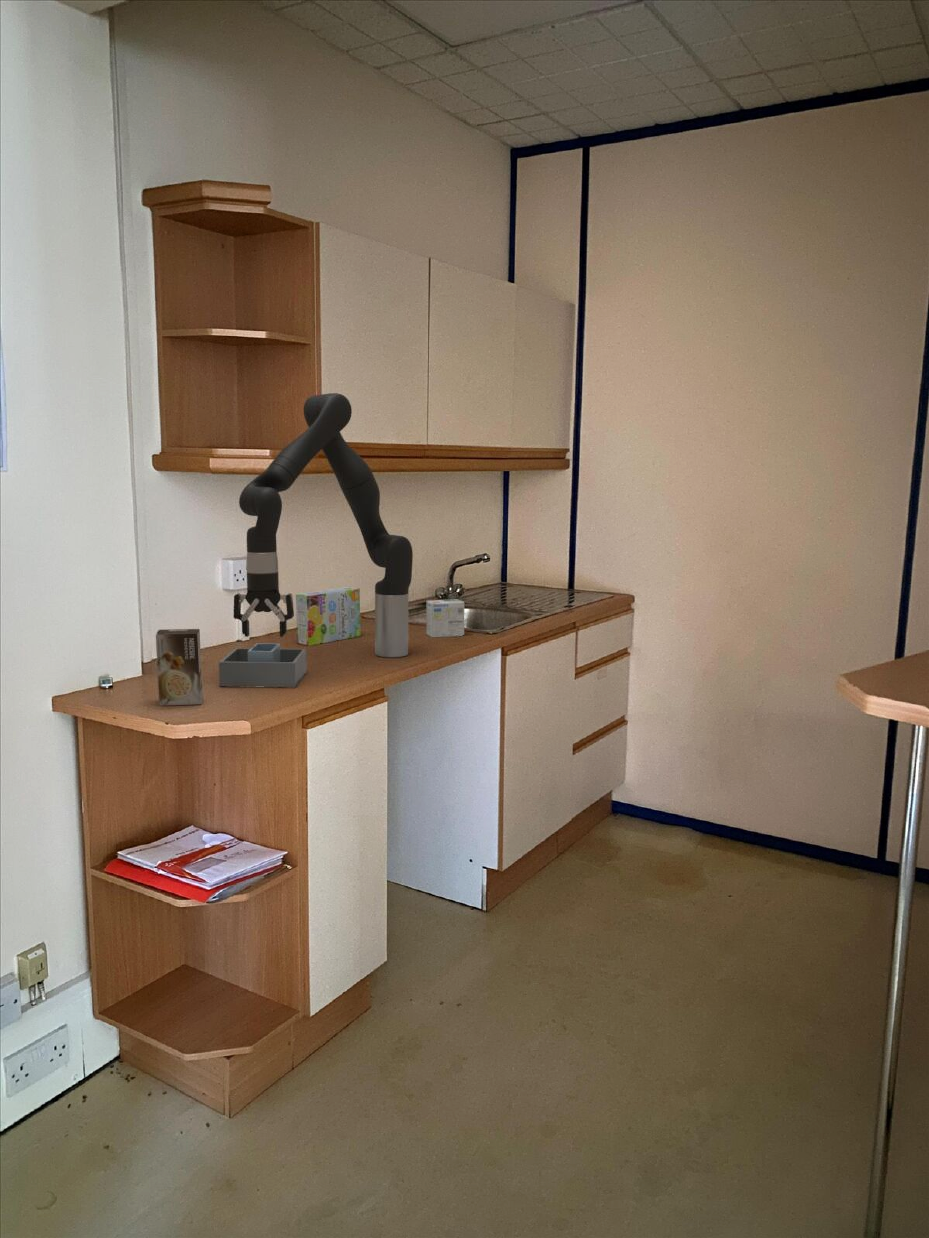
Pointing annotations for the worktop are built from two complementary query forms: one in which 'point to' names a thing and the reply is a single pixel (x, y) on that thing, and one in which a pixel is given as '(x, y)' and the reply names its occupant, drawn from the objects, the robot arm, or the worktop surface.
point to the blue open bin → (264, 653)
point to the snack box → (328, 615)
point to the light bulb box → (445, 618)
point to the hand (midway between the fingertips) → (264, 636)
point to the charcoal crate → (263, 669)
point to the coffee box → (179, 667)
